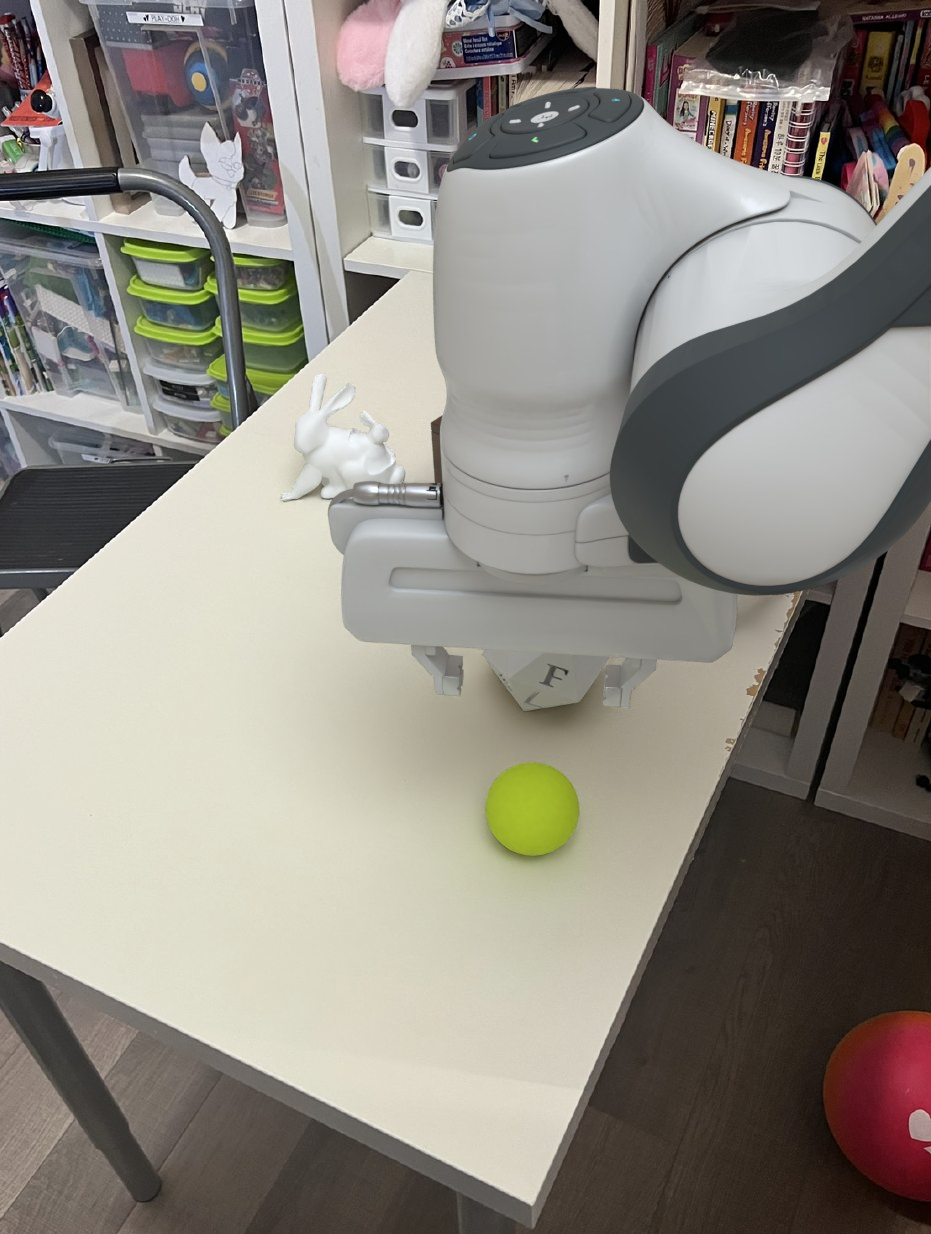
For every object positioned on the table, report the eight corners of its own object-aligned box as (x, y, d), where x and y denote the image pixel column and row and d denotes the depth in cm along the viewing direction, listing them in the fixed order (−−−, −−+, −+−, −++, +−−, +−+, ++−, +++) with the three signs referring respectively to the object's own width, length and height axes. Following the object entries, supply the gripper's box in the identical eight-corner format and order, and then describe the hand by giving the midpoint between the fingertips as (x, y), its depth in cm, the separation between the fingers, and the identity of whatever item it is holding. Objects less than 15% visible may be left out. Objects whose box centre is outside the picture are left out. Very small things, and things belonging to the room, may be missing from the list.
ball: (579, 805, 70) (583, 746, 65) (574, 878, 66) (578, 821, 62) (491, 797, 71) (490, 740, 67) (481, 869, 67) (479, 813, 63)
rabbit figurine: (277, 502, 97) (258, 410, 90) (298, 457, 102) (281, 367, 95) (400, 507, 95) (391, 414, 88) (416, 461, 100) (408, 369, 93)
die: (462, 699, 79) (492, 676, 69) (494, 591, 80) (528, 553, 70) (566, 733, 79) (610, 715, 69) (596, 625, 81) (643, 593, 71)
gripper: (307, 520, 48) (342, 720, 58) (764, 537, 44) (717, 748, 55) (336, 445, 52) (364, 644, 62) (755, 456, 49) (713, 666, 59)
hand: (531, 693), depth 58 cm, fingers open, 8 cm apart
